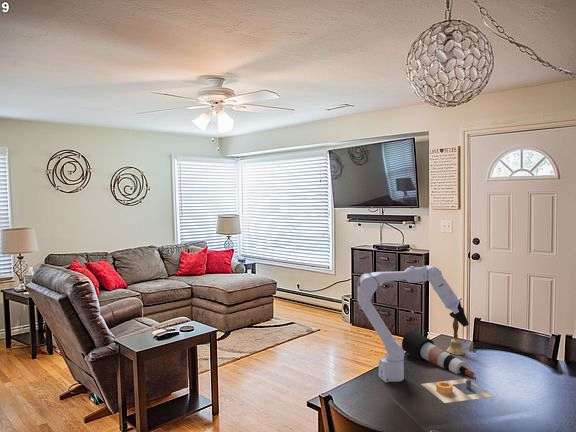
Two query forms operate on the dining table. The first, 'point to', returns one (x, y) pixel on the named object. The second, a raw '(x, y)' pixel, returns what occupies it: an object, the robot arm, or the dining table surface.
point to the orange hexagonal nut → (444, 388)
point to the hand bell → (455, 341)
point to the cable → (432, 353)
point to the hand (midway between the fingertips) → (464, 321)
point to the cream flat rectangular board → (457, 391)
